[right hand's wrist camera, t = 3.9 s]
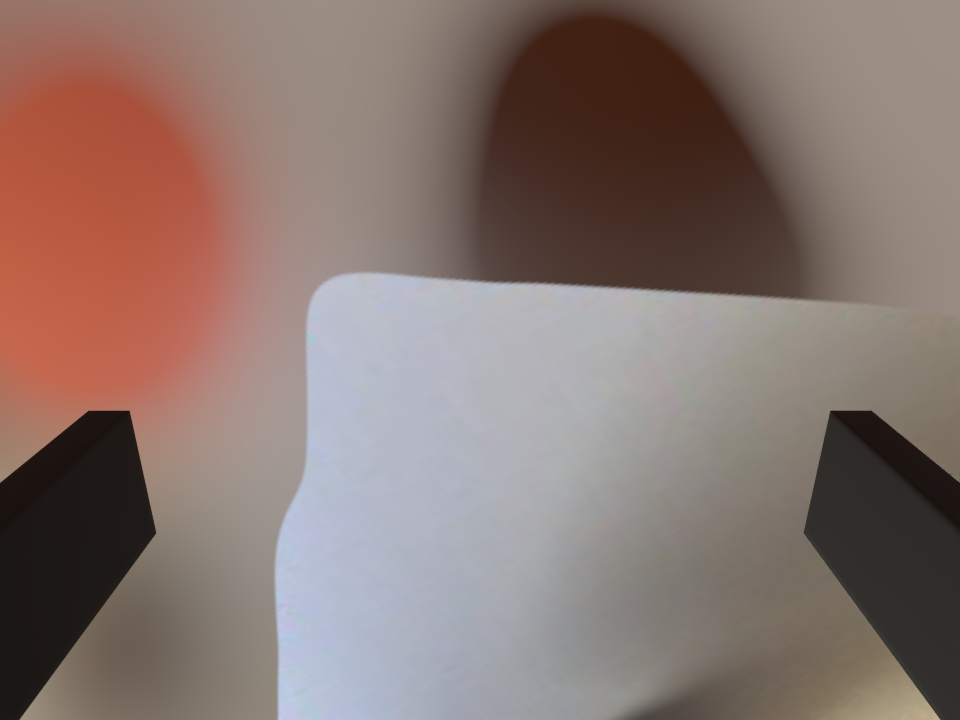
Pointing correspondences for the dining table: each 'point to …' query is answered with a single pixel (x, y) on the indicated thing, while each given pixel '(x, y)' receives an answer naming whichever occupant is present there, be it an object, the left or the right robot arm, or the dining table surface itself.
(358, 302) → the dining table surface
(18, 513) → the right robot arm
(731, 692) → the dining table surface
